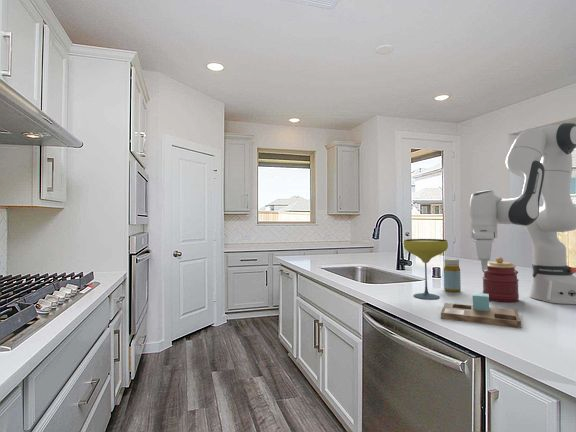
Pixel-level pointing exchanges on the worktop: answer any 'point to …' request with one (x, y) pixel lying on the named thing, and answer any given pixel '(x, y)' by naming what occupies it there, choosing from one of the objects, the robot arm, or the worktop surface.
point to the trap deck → (481, 315)
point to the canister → (501, 281)
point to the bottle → (452, 275)
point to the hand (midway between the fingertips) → (484, 269)
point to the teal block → (481, 301)
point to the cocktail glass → (426, 257)
